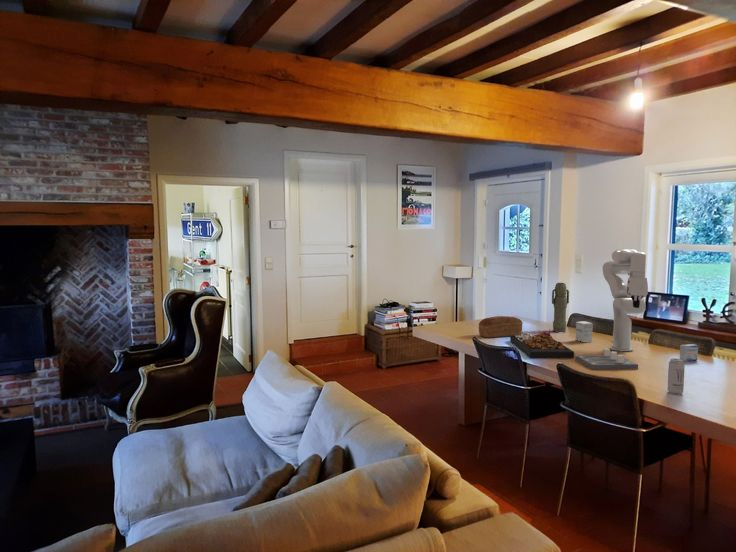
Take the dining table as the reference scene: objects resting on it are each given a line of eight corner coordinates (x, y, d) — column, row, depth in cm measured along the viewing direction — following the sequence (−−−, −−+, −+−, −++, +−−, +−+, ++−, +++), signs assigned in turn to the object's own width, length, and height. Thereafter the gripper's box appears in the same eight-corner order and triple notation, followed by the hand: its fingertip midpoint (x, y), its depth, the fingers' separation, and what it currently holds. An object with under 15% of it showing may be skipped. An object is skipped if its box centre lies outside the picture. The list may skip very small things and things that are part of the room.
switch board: (575, 360, 282) (575, 355, 281) (617, 359, 283) (617, 354, 282) (592, 369, 262) (593, 364, 261) (638, 369, 263) (638, 364, 262)
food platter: (510, 342, 331) (510, 326, 330) (547, 342, 330) (548, 326, 330) (530, 359, 286) (530, 341, 285) (573, 359, 286) (574, 341, 285)
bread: (525, 336, 347) (525, 316, 346) (484, 339, 339) (484, 319, 338) (515, 332, 359) (515, 314, 357) (476, 335, 351) (476, 316, 349)
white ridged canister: (575, 340, 332) (575, 321, 331) (584, 339, 334) (585, 321, 333) (582, 342, 325) (583, 323, 324) (592, 342, 327) (593, 322, 326)
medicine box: (686, 361, 277) (686, 346, 276) (679, 359, 281) (679, 344, 280) (697, 360, 279) (698, 345, 278) (690, 358, 283) (691, 343, 282)
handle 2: (616, 362, 266) (616, 354, 265) (622, 362, 266) (622, 354, 266) (618, 363, 264) (618, 355, 264) (623, 363, 264) (624, 355, 264)
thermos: (570, 332, 359) (572, 283, 356) (555, 333, 357) (556, 283, 354) (563, 330, 368) (565, 282, 365) (548, 330, 366) (550, 282, 363)
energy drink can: (674, 395, 220) (676, 361, 219) (664, 391, 226) (665, 358, 225) (686, 394, 221) (688, 361, 220) (675, 390, 227) (677, 357, 226)
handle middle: (609, 359, 273) (610, 351, 272) (615, 358, 273) (615, 351, 273) (611, 359, 271) (611, 352, 271) (616, 359, 271) (617, 352, 271)
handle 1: (603, 355, 280) (603, 348, 279) (608, 355, 280) (608, 348, 280) (604, 356, 278) (604, 349, 278) (609, 356, 278) (610, 349, 278)
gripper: (628, 275, 276) (626, 308, 277) (654, 275, 276) (653, 308, 278) (620, 274, 283) (619, 306, 285) (646, 274, 284) (645, 306, 285)
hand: (636, 307), depth 281 cm, fingers closed
